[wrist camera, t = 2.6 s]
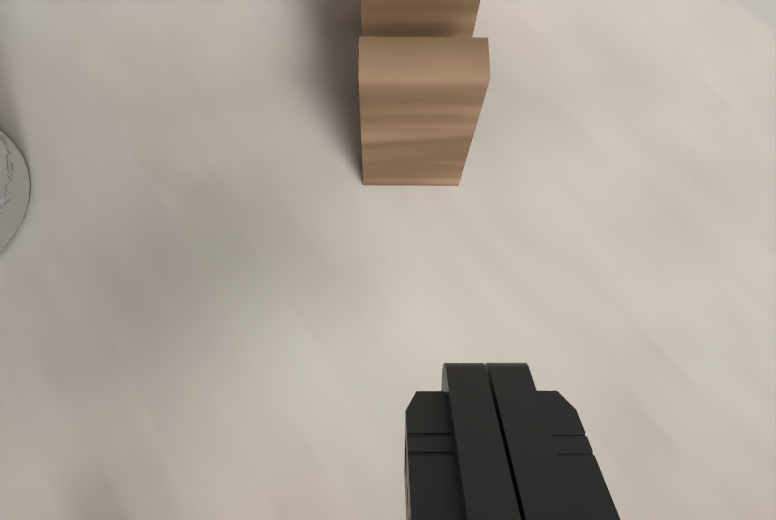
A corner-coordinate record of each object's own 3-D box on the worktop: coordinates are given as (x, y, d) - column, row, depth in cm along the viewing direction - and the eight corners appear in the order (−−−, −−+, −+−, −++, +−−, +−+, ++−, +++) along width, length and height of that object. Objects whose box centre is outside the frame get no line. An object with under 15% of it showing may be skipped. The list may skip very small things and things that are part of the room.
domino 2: (458, 185, 34) (490, 78, 25) (363, 185, 34) (358, 76, 25) (457, 154, 35) (488, 37, 25) (363, 153, 35) (358, 36, 25)
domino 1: (455, 109, 36) (484, -20, 26) (364, 109, 36) (359, -21, 26) (454, 81, 36) (482, -57, 27) (364, 80, 36) (360, -58, 27)
